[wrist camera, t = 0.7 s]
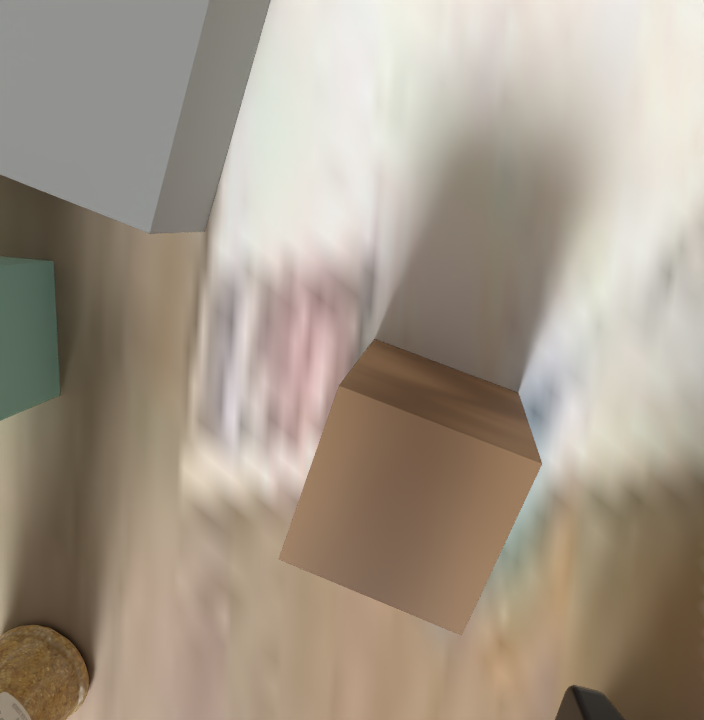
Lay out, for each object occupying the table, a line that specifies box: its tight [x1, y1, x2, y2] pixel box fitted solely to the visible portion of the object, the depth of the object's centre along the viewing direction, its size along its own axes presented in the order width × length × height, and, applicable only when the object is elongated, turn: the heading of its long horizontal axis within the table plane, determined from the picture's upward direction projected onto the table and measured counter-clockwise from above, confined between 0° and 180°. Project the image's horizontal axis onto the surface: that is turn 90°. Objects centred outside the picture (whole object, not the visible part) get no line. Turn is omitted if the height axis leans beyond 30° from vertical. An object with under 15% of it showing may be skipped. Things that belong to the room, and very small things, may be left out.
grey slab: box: [0, 0, 270, 234], centre depth 18 cm, size 8×8×4 cm
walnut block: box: [279, 339, 542, 635], centre depth 17 cm, size 5×5×6 cm
